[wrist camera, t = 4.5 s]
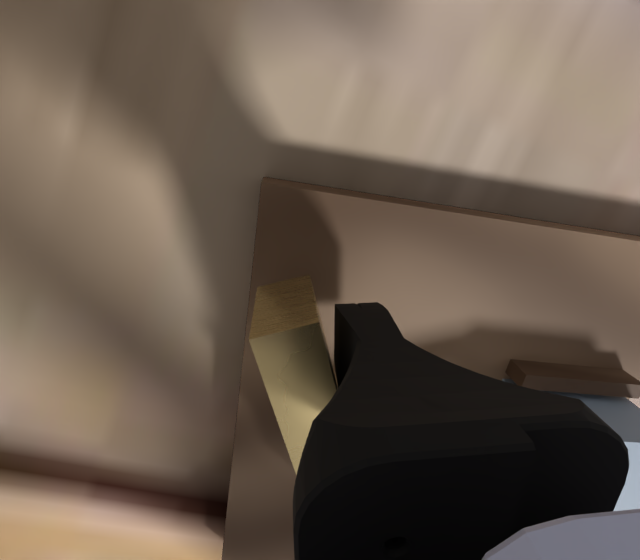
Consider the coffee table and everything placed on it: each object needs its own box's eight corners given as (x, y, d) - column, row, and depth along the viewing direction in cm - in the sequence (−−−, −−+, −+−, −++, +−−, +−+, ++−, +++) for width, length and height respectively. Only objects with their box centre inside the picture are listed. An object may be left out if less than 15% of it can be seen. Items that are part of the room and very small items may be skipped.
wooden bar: (508, 454, 16) (585, 564, 12) (323, 500, 16) (338, 625, 12) (501, 217, 12) (613, 261, 8) (252, 278, 12) (237, 354, 8)
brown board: (512, 545, 21) (541, 596, 19) (224, 541, 19) (216, 600, 16) (671, 241, 15) (744, 261, 12) (263, 176, 12) (259, 187, 10)
